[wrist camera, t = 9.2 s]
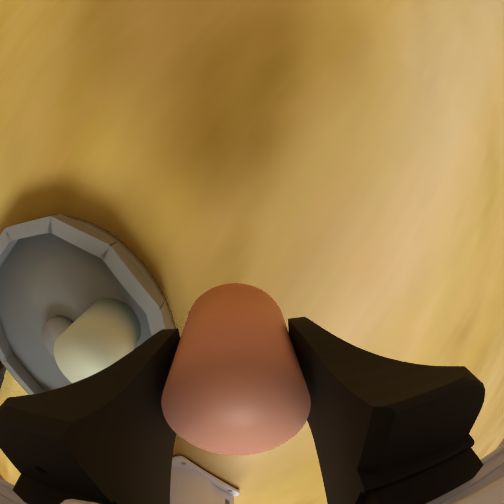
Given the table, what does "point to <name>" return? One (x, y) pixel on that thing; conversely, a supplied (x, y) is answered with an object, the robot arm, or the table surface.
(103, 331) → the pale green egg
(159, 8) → the table surface
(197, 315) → the bead
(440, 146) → the table surface
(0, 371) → the yellow black patterned cube
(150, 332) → the groove tray
